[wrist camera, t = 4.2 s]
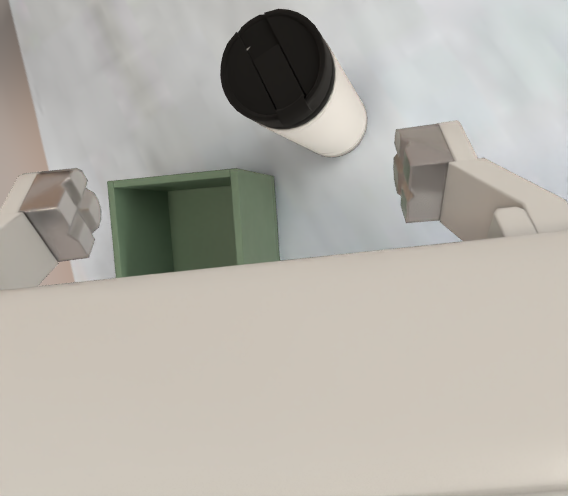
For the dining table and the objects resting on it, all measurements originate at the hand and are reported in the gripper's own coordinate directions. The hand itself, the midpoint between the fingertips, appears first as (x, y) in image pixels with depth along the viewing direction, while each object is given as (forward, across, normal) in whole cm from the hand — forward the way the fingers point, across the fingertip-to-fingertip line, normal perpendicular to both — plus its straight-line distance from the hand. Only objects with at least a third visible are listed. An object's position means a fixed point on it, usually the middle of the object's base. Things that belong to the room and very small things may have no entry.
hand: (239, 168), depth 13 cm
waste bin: (+24, +8, +27) cm, 37 cm away
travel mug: (+29, -4, +18) cm, 35 cm away
